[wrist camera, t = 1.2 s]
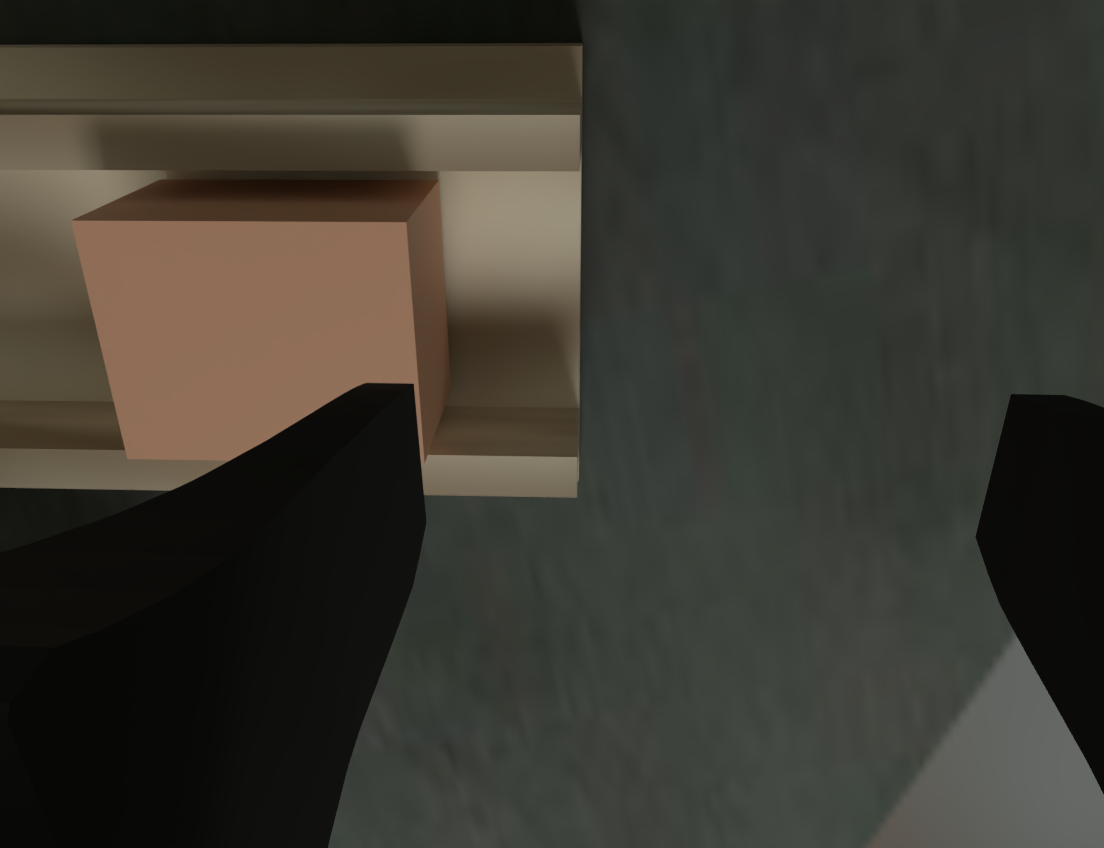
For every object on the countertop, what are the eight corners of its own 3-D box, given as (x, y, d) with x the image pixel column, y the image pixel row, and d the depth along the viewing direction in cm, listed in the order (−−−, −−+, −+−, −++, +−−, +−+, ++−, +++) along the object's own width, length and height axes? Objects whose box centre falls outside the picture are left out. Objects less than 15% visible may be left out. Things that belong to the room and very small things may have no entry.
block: (450, 388, 21) (424, 463, 18) (198, 385, 22) (127, 459, 18) (438, 180, 19) (406, 222, 16) (160, 179, 20) (70, 220, 16)
